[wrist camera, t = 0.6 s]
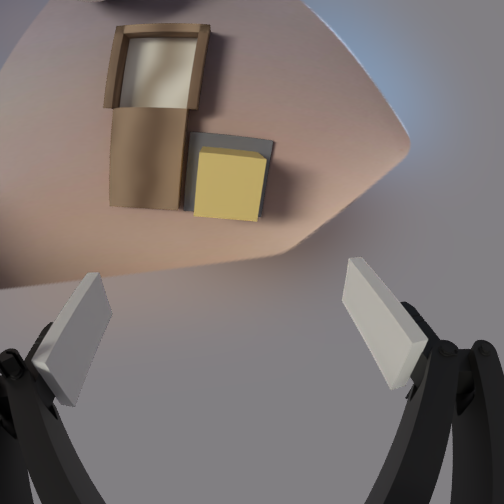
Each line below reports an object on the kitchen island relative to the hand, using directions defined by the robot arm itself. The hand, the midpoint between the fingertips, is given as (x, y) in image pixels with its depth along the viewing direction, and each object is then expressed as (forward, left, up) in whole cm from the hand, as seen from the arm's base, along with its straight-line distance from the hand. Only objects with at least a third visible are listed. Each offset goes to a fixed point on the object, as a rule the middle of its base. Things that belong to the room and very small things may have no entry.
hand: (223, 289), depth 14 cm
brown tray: (-8, +9, -20) cm, 23 cm away
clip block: (+1, +2, -17) cm, 17 cm away
